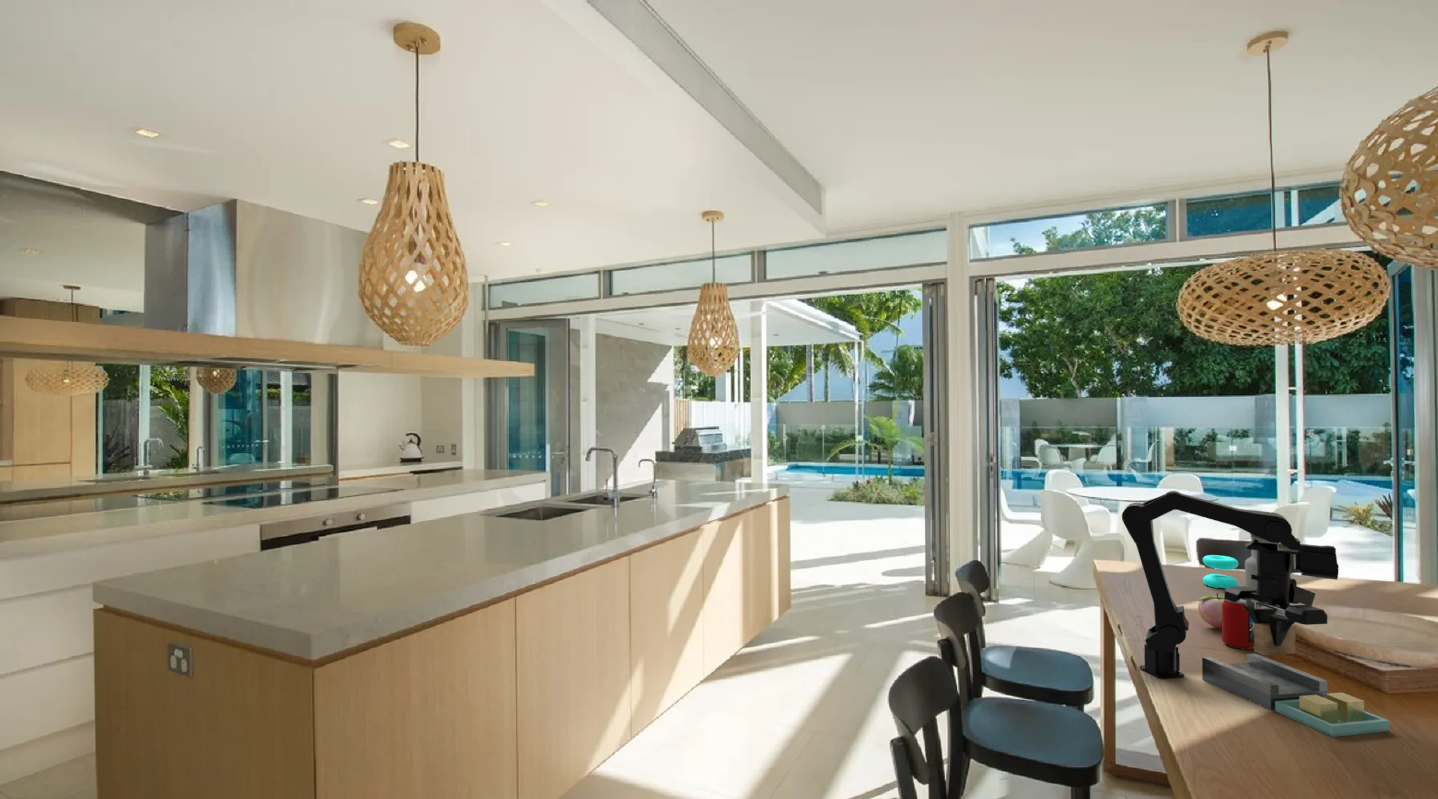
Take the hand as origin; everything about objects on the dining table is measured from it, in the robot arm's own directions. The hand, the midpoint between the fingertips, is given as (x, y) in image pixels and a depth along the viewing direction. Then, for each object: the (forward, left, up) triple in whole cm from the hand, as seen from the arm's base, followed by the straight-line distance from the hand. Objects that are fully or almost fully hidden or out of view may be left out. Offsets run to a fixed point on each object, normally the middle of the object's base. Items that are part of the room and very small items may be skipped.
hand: (1272, 644), depth 146 cm
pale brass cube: (-4, -11, -8) cm, 14 cm away
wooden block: (+1, 0, -2) cm, 2 cm away
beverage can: (+20, +26, -11) cm, 35 cm away
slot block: (-1, +1, -11) cm, 11 cm away
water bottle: (+56, +50, -11) cm, 76 cm away
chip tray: (-1, -13, -11) cm, 17 cm away
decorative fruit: (+27, +39, -11) cm, 49 cm away
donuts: (+68, +77, -11) cm, 103 cm away
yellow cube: (+2, -11, -8) cm, 14 cm away
